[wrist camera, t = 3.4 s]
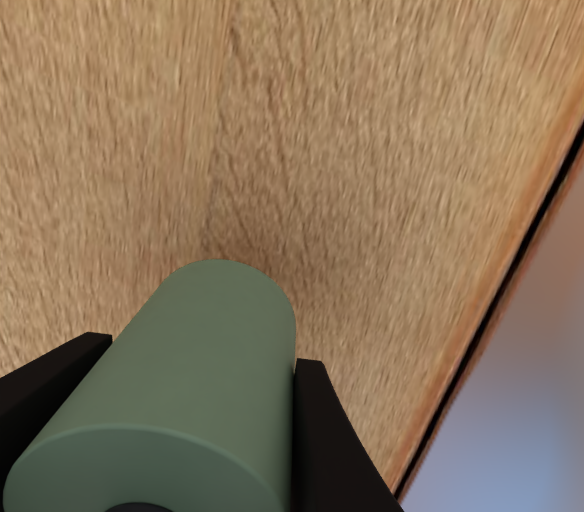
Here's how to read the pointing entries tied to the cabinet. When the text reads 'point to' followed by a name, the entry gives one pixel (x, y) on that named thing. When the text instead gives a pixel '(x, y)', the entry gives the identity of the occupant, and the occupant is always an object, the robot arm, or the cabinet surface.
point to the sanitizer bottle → (177, 407)
